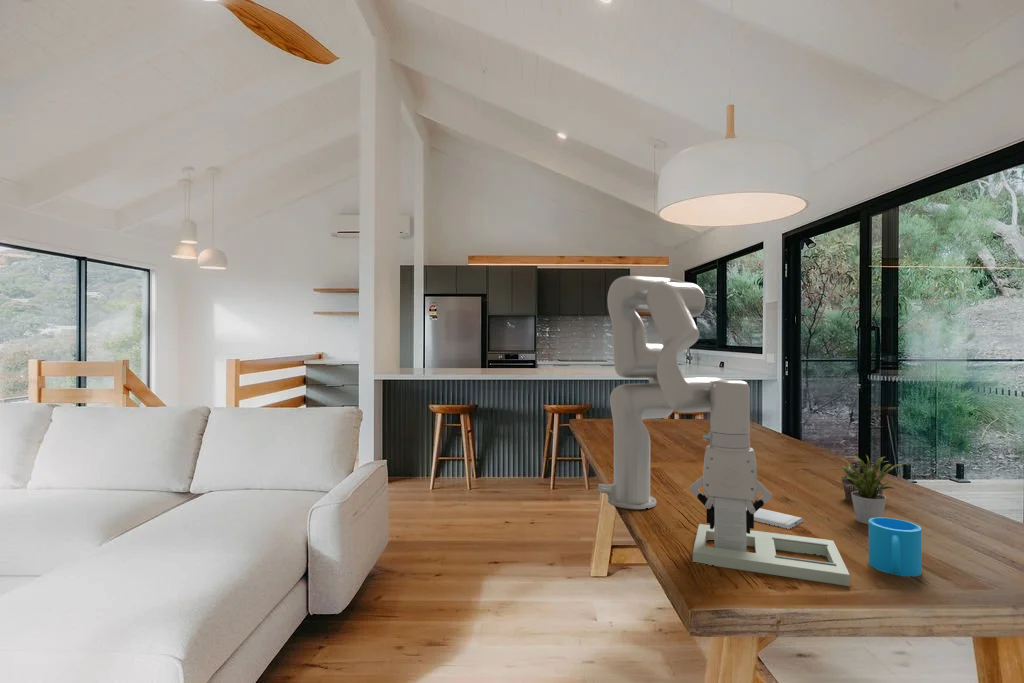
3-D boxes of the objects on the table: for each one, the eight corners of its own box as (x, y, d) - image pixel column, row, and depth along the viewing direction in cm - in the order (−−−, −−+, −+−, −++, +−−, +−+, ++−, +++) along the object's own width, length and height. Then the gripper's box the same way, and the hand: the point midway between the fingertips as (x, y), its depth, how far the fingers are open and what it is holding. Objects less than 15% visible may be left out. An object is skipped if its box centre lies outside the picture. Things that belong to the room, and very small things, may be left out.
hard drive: (736, 512, 132) (789, 524, 123) (751, 505, 138) (803, 516, 129) (736, 518, 132) (789, 531, 123) (751, 512, 138) (803, 523, 129)
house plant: (903, 517, 132) (903, 450, 132) (918, 535, 120) (918, 461, 120) (836, 509, 138) (835, 445, 138) (843, 525, 126) (843, 455, 126)
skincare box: (745, 549, 111) (745, 491, 111) (746, 557, 107) (746, 496, 107) (713, 545, 113) (713, 488, 113) (714, 553, 109) (714, 493, 109)
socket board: (692, 562, 104) (692, 551, 104) (699, 532, 121) (699, 522, 121) (849, 586, 94) (849, 573, 94) (833, 550, 110) (833, 539, 110)
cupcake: (888, 507, 140) (888, 469, 140) (845, 503, 143) (845, 466, 143) (879, 498, 149) (879, 461, 149) (838, 494, 152) (838, 459, 152)
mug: (868, 555, 108) (868, 514, 108) (919, 565, 103) (919, 522, 103) (868, 577, 98) (868, 532, 98) (925, 588, 93) (925, 541, 93)
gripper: (683, 440, 110) (683, 529, 110) (778, 447, 103) (778, 541, 103) (687, 435, 117) (687, 518, 117) (775, 440, 110) (775, 529, 110)
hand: (729, 528), depth 110 cm, fingers closed on skincare box, 6 cm apart
